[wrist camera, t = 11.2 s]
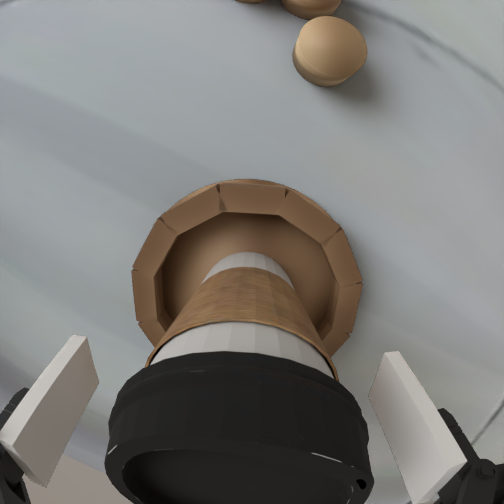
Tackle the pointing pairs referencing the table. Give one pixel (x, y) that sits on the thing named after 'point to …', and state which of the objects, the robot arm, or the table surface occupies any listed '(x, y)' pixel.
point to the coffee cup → (239, 403)
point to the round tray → (248, 240)
